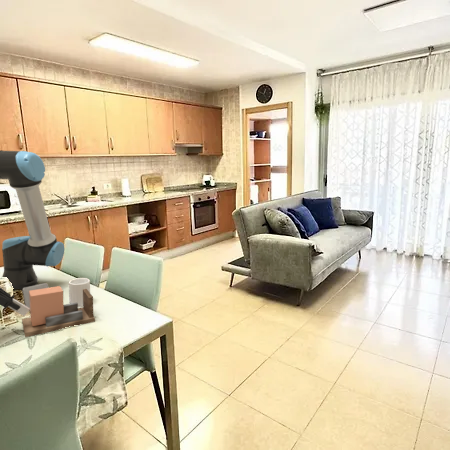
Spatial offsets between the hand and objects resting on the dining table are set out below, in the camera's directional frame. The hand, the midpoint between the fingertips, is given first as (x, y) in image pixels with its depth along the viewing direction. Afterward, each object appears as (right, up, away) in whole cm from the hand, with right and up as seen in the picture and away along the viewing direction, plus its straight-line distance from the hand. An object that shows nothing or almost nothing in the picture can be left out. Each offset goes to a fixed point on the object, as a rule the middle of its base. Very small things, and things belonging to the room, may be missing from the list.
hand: (26, 312), depth 113 cm
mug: (+6, -3, +26) cm, 27 cm away
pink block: (+5, -4, +5) cm, 8 cm away
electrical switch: (-8, -3, +19) cm, 21 cm away
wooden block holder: (+8, -6, +7) cm, 12 cm away
